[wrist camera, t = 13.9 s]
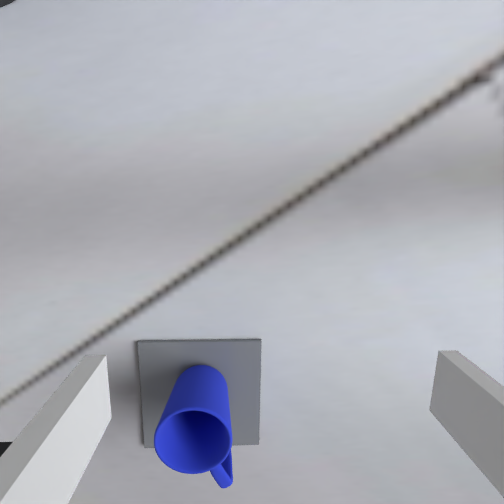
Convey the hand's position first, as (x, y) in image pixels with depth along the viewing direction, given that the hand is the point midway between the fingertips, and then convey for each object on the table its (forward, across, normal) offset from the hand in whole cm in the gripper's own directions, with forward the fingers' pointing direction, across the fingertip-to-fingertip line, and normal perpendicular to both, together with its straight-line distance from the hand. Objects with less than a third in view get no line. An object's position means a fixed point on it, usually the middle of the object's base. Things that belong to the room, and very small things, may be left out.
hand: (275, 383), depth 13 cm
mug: (+28, -5, -21) cm, 35 cm away
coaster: (+29, -6, -21) cm, 36 cm away
